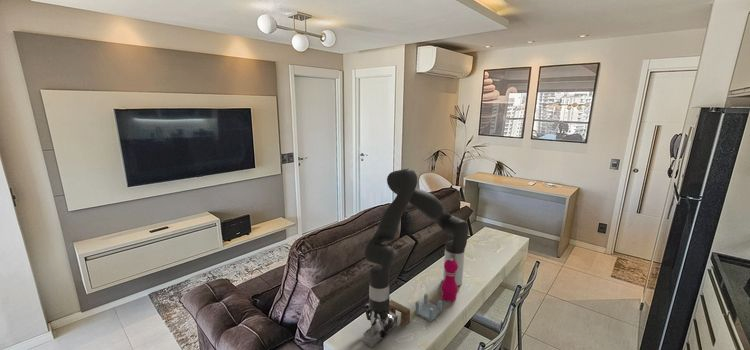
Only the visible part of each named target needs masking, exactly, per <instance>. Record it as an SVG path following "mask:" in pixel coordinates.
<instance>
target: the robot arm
mask: <svg viewBox="0 0 750 350" xmlns="http://www.w3.org/2000/svg"><path fill="white" fill-rule="evenodd" d="M386 183H387V186H388V188H389V189H390V191H392V192H393V193H394V194H396V196H395V198H394V200H393V201H392V202H391V203H390V204H389V206H388V207H387V208H386V209H385V211H384V213H383V214H382V216H381V219H380V221H379V224H378V226H377V227H378V228H377V230H376V231H375V233H374V234H373V237H371V239H370V240H369V242H368V243H367V245H366V246H365V250H364V258H365V260H366V261H367V262H369V263H372V264H377V265H376V266H373V267H371V269H370V271H369V287H368V293H369V294H368V296H369V299H368V302H367V303H366V304H364V306H363V308H364V312H365V316H366V319H367V320H368V321H369V322H370V327H372V326H373V325H374V324H375V323H376V322H377V321H379V323H380V325H381V327H382V330H381V337H382V339H385V338H386V337H387V336H388V333H389V332H390V331H389V330H390V329H391V328H392V326H393V324H394V321H395V317H394V316H393V317H392V316H391V315H390V314H389V310H388V309H389V301H390V295H391V294H390V293H391V292H390V271H391V267H392V264H393V262H394V258H395V250H394V249H393V247H392V246H390V245H388V244H383V243H384V242H392V241H393V240H394V239H395V237H396V235H397V232H398V228H399V226H400V222H401V220H402V218H403V217H402V216H403V215H404V212H405V210H406V208H407V206H408V204H409V203H410V204H411V205H412V206H413V207H414V208H416V209H417V210H418V211H419V212H421V213H422V214H423V215H424V216H425V217H427V218H428V219H429V220H431V221H433V222H434V223H436V224H437V225H438V226H439V227H440V229H441V230H442V231H443V232H444V233H445V234H447V235H448V236H451V237H452V240H448V241H446V242H445V244H444V245H445V246H444V261H443V264H444V263H445V262H446V261H447V260H449V258H450V257H452V258H453V260H454V261H456V262H457V264H458V269H457V270H456V275H455V282H456V285H457V287H459V286H461V285H462V284H463V276H464V265H465V264H464V263H465V250H466V246H467V243H468V236H469V231H470V230H469V228H470V227H469V224H468V222H467V221H466V220H464V219H463V218H462V219H461V218H459V217H457V216H454V215H453V214H451V213H449V212H448V211H446V210H445V206H444V205H443V202H442V201H441V200H439V199H438V198H437V197H436V196H435V195H434V194H432V193H430V192H429V191H426V190H423V189H420V188H417V186H418V185H417V184H418V175H417V173H416V171H415V170H414V169H413V168H403V169H399V170H398V169H397V170H394V171H391V172H390V173H389V174H388V175H387V176H386ZM442 275H443V276H442V277H443V278H442V281H443V282H444V280H445V277H446V274H445V268H444V267H443V274H442ZM387 322H388V323H387ZM384 324H385V325H384ZM388 331H389V332H388ZM387 332H388V333H387Z"/></svg>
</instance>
